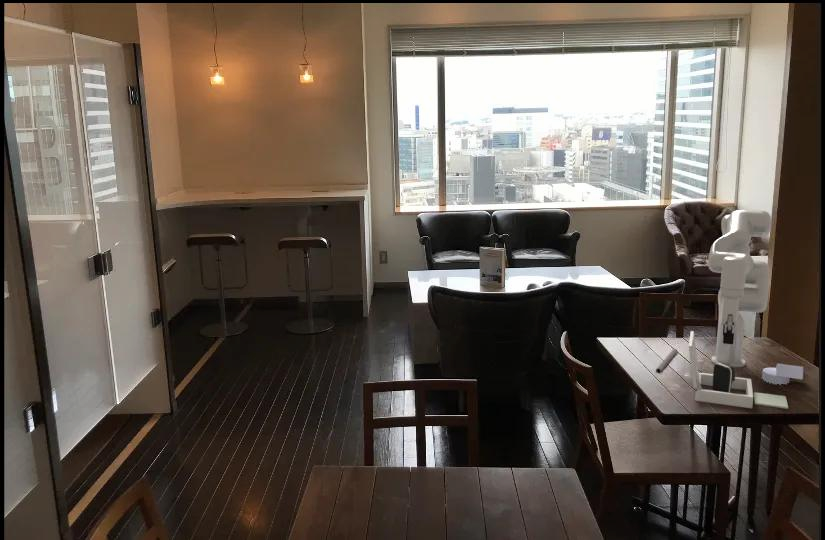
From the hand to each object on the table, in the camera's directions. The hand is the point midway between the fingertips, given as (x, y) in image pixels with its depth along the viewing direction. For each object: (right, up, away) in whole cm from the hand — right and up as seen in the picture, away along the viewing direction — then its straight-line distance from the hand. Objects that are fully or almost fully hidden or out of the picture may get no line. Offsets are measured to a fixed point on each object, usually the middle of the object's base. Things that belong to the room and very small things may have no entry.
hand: (727, 339), depth 234 cm
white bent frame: (-1, -20, +5) cm, 21 cm away
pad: (+14, -21, -2) cm, 25 cm away
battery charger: (0, -20, +5) cm, 21 cm away
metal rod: (-7, -14, +38) cm, 41 cm away
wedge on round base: (+28, -17, +16) cm, 36 cm away
